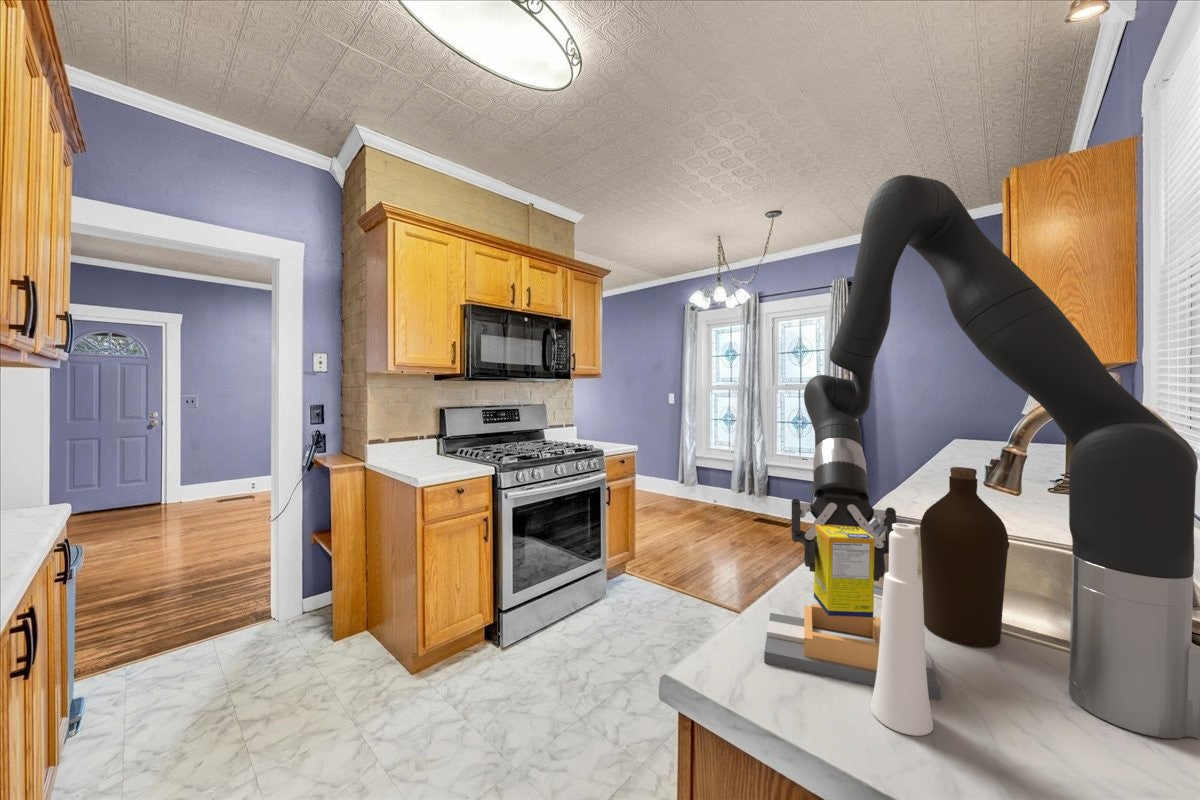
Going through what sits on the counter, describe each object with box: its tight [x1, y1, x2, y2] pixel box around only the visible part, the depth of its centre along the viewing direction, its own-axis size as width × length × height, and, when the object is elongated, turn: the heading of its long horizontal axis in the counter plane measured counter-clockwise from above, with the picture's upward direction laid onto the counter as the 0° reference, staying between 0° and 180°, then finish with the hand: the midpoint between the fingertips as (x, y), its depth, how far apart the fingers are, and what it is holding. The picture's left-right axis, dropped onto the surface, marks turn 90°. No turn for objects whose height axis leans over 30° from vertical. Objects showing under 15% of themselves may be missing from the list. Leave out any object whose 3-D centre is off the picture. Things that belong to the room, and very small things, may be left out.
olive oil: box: [919, 466, 1010, 649], centre depth 72 cm, size 11×11×25 cm
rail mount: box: [763, 603, 942, 701], centre depth 66 cm, size 20×12×4 cm, turn 67°
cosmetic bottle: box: [870, 522, 934, 737], centre depth 54 cm, size 6×6×22 cm
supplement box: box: [813, 524, 875, 617], centre depth 66 cm, size 6×6×11 cm
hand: (843, 573), depth 65 cm, fingers closed on supplement box, 7 cm apart
